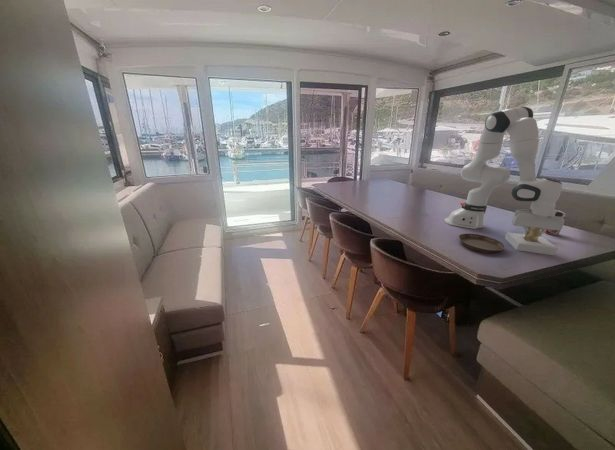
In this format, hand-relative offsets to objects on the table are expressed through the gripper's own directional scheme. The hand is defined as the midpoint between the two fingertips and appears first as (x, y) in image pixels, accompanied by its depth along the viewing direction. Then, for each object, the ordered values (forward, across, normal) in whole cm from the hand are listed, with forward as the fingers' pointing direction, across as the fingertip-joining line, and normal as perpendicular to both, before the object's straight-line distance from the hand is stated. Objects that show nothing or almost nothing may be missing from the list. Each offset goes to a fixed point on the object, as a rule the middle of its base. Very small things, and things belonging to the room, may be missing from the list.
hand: (531, 235), depth 129 cm
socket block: (+7, 0, 0) cm, 7 cm away
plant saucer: (+7, -25, -9) cm, 27 cm away
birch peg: (+5, 0, 0) cm, 5 cm away
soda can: (+7, +22, +28) cm, 36 cm away
